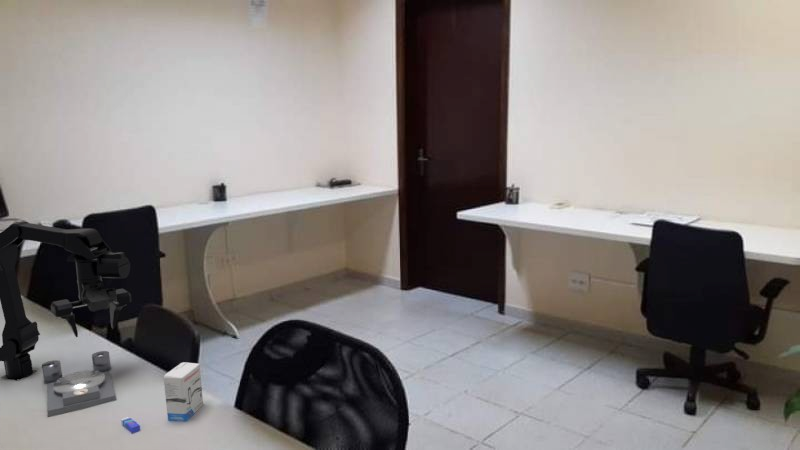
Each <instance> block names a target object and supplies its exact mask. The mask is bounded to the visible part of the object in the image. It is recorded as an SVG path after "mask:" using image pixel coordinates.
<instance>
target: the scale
mask: <svg viewBox="0 0 800 450" xmlns="http://www.w3.org/2000/svg"><path fill="white" fill-rule="evenodd" d="M102 373H104V375H105V381H104V382H103V383H102V384H101V385H99V386H95V387H91V388H86V389H78V390H76V391H72V392H68V393H63V394H60V393H57V392H55V391H54V389H53V384H54V383H55V382H53V383H49V384H46V399H47V400H46V401H47V402H46V404H47V405H46V406H47V409H46V412H47V416H48V417H54V416H57V415H62V414H66V413H70V412H75V411H80V410H83V409H84V410H85V409H88V408H91V407H95V406H99V405H102V404H107V403H111V402H114V401H116V400H117V397H116V396H117V395H116V393H115V391H116V390H115V388H114V384H113V383H114V382H113V381H112V380H113V379H112V375H111V372H110V370H109V371H107V372H102Z"/></svg>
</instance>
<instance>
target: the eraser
mask: <svg viewBox="0 0 800 450" xmlns="http://www.w3.org/2000/svg"><path fill="white" fill-rule="evenodd" d="M120 421H121V426H122V427H123V428H125V429H126V430H127V431H129V432H130V433H131V434H136V433H137V432H140V431H141V426H140V424H139V423H138V422H137V421H135V420H133V419H132V418H131V417H130V416H127V417H124V418H122V419H121V420H120Z"/></svg>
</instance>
